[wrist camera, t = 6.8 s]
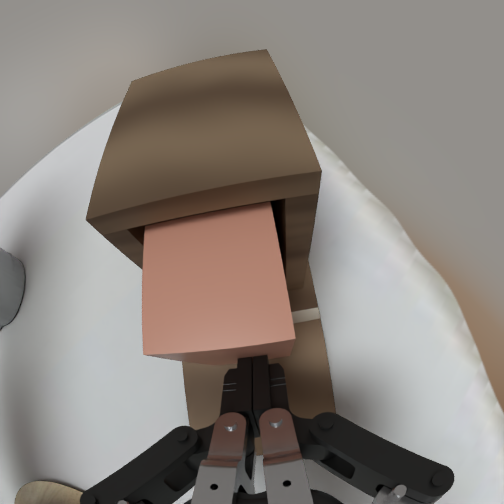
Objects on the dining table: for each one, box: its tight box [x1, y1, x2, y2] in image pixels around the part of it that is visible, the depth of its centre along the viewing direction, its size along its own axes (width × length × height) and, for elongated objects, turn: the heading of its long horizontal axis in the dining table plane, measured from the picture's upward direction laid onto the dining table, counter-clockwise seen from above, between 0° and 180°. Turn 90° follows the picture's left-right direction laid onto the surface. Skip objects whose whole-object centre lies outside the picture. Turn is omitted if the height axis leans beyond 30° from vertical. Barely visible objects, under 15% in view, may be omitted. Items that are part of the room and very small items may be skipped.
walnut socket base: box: [86, 49, 336, 456], centre depth 14 cm, size 22×10×13 cm, turn 7°
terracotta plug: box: [142, 202, 296, 366], centre depth 14 cm, size 5×5×10 cm
